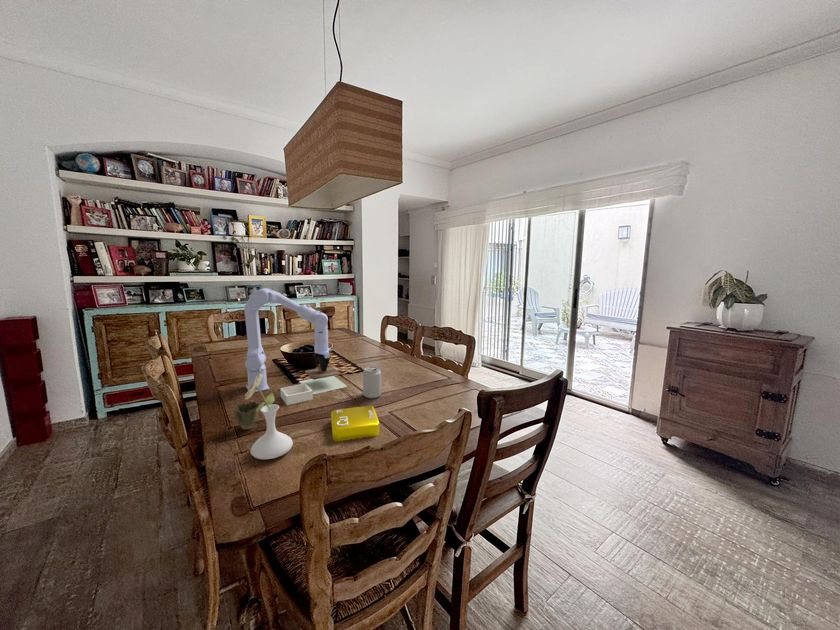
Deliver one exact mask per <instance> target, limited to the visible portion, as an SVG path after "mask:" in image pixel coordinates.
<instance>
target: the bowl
mask: <svg viewBox="0 0 840 630" xmlns="http://www.w3.org/2000/svg"><path fill="white" fill-rule="evenodd" d="M279 389H280V398H281V399H282V401H283V402H284V404H285V405H286V406H292V405H295V404H300V403H304V402H308V401H312V400H314V394H313V391H312V390H311V389H310V388H309V387H308V386H307V385H306V384H305V383H303V384H301V383H299V384H294V385H289V386H284V387H280V388H279Z"/></svg>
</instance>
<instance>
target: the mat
mask: <svg viewBox="0 0 840 630" xmlns="http://www.w3.org/2000/svg"><path fill="white" fill-rule="evenodd" d="M303 383H305V384H306V385H307V386H308V387H309V388H310V389H311V390H312V391H313V395H317V394H320V393H321V394H322V393H325V392H329V391H335V390H339V389H343V388H347V387H348V386H347V385H346V384H345V383H344V382H343V381H341V380H340V379H339V378H337V377H336V375H335V376H330V377H325V378H320V379H315V380H313V379H312V378H310V379H305V380H299V384H303Z"/></svg>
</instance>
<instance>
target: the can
mask: <svg viewBox="0 0 840 630" xmlns="http://www.w3.org/2000/svg"><path fill="white" fill-rule="evenodd" d="M362 394H363V395H362V396H364V397H365V398H367V399H377V398H379V397H380V396H381V394H382V371H381V370H380V367H378V366H367V367H364V369H363V371H362Z"/></svg>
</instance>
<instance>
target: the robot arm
mask: <svg viewBox="0 0 840 630" xmlns="http://www.w3.org/2000/svg"><path fill="white" fill-rule="evenodd" d="M268 303H269V304H272V305H273V304H279V305H281V306H284V307H286V308H288V309H290V310H292V311H294V312H296V315H297V316H298V317H299V318H302V319H303V320H306V321H307V322H309V323H312V324H313V325H314V346H313V347H314V353H313V354H312V355H313V357H314V360H315V361H316V366H317V367H318V364H320V367H321V371H322V372H323V371H326V370H327V367H328V365H329V362H330V359H331V358H332V356H331V354H330V352H331V351H332V348H329V330H328V321H329V318H328V316H327V314H326V313H324V312H321V311H320V310H317V309H314V308H313V307H311V305H310V304H299V303H297V302H296V301H294V300H292V299H290V298H289V297H286V296H285V295H283V293H280V292H278V291H276V290H272V289H271V288H269V287H263V288H260V289H256V290H255V291H254V292H252V293H251V294H250V296H249V298H248V300H247V301H246V303H245V305H244V309H243V311H244V319H245V327H246V339H247V353H246V361H245V362H244V366H245V369H246V370H247V371H246V373H247V384H246V385H245V388H246V389H247V392H248V391H249V390H250V389H249V386H250V385H253V384H254V381H255V378H256V377H257V378H258V376H259V374H261V375H263V377H262V380H261V382H260V384H259V389H260V390H261V392H263V391H267V390H268V391H269V390H270V387H269V385H268V381H267V380H268V378H267V367H266V365H265V363H266V362H267V355H266V353H265V351H264V348H263V346H262V338H261V327H260V317H259V311H260V309H261V308H262V307H264V305H266V304H268ZM258 392H260V391H259V390H258V389H257V390H256V391H255V392H254V393H258Z"/></svg>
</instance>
